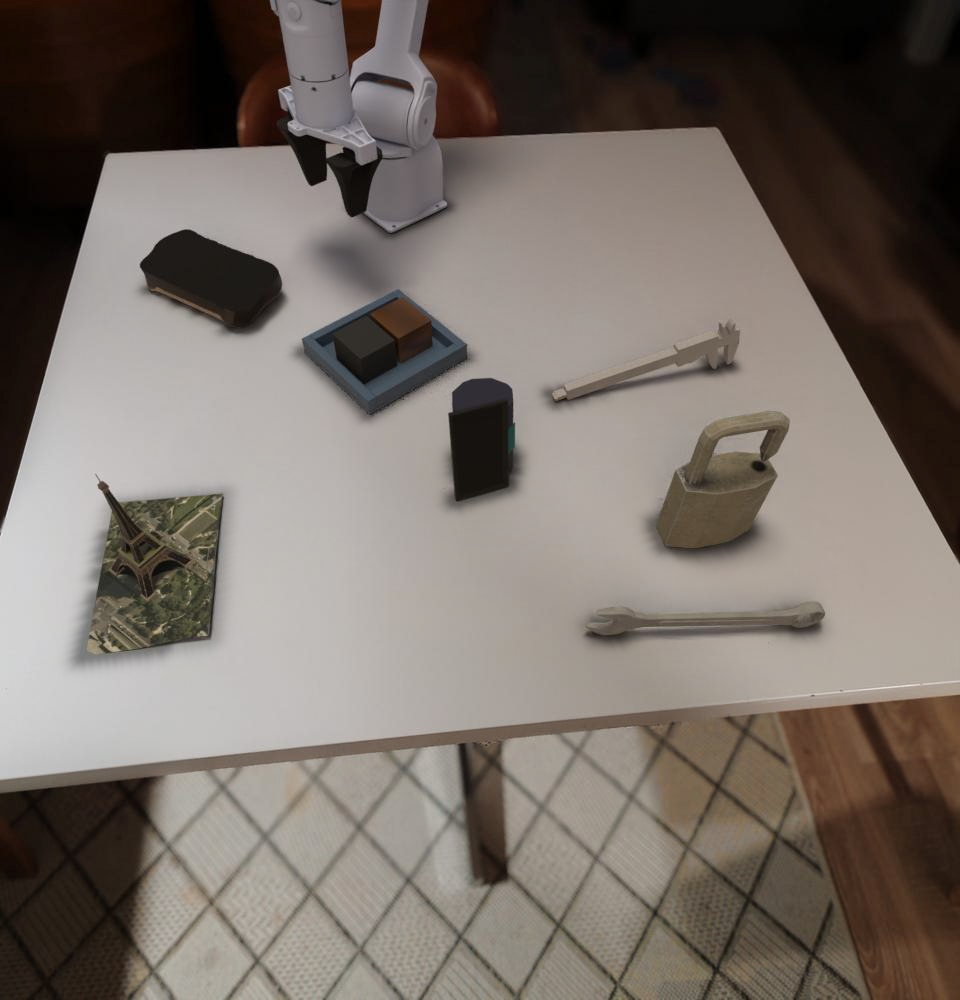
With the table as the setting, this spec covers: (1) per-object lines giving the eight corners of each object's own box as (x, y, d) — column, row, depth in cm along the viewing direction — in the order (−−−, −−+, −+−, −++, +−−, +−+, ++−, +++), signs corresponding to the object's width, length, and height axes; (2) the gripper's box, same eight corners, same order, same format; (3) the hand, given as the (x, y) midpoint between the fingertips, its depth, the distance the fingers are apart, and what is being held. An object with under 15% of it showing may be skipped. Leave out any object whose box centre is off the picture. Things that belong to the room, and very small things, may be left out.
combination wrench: (830, 596, 63) (588, 600, 62) (835, 610, 62) (590, 615, 61) (812, 617, 66) (581, 622, 65) (816, 631, 65) (583, 636, 64)
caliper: (726, 359, 84) (742, 313, 79) (730, 365, 84) (748, 320, 79) (551, 396, 80) (557, 351, 75) (554, 403, 80) (561, 358, 75)
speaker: (516, 501, 72) (516, 417, 64) (454, 502, 72) (447, 419, 64) (514, 444, 77) (514, 361, 69) (456, 445, 77) (450, 362, 69)
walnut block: (404, 322, 86) (402, 296, 83) (432, 345, 84) (431, 320, 81) (372, 339, 84) (369, 313, 81) (400, 364, 82) (398, 338, 79)
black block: (369, 341, 84) (366, 315, 81) (397, 365, 82) (395, 340, 79) (336, 359, 82) (331, 333, 79) (363, 384, 80) (360, 359, 77)
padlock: (752, 537, 70) (812, 428, 58) (668, 553, 69) (711, 444, 57) (734, 503, 72) (788, 391, 60) (652, 518, 71) (691, 406, 59)
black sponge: (294, 295, 89) (288, 269, 86) (245, 338, 85) (237, 311, 82) (189, 250, 94) (180, 223, 91) (137, 288, 89) (126, 261, 86)
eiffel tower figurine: (213, 641, 63) (162, 554, 52) (85, 656, 62) (6, 570, 51) (223, 496, 72) (182, 395, 61) (111, 507, 71) (49, 407, 60)
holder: (399, 302, 89) (398, 288, 87) (467, 358, 84) (467, 344, 82) (304, 352, 84) (301, 338, 82) (369, 414, 78) (367, 401, 77)
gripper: (242, 53, 75) (270, 181, 86) (326, 111, 69) (345, 241, 80) (303, 33, 78) (322, 160, 89) (389, 87, 72) (399, 216, 83)
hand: (337, 197), depth 85 cm, fingers open, 7 cm apart
